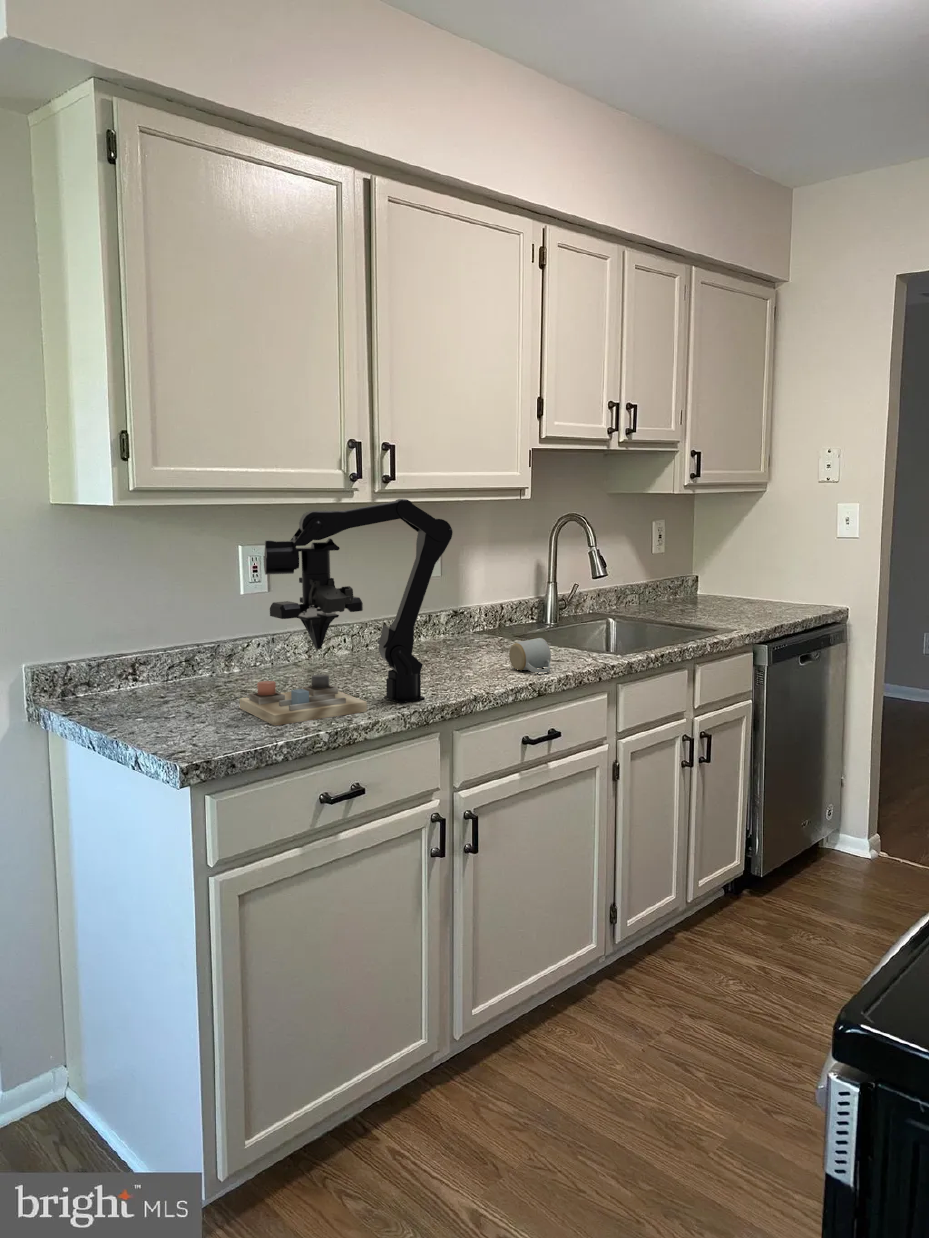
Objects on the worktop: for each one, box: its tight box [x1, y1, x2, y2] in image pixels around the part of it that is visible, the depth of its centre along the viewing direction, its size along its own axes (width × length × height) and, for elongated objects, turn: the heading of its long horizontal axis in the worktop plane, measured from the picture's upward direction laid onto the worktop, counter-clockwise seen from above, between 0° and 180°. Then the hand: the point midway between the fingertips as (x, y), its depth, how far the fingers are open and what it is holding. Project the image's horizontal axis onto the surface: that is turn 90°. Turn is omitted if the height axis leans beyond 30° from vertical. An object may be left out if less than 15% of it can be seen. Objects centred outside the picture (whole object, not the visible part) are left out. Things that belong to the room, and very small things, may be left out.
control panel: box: [239, 684, 368, 726], centre depth 195 cm, size 20×17×3 cm
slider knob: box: [290, 688, 309, 705], centre depth 190 cm, size 2×3×3 cm
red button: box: [256, 680, 277, 695], centre depth 195 cm, size 4×4×2 cm
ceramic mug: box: [508, 637, 552, 673], centre depth 236 cm, size 11×8×8 cm
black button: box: [310, 673, 330, 688], centre depth 201 cm, size 4×4×2 cm
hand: (318, 648), depth 198 cm, fingers closed
